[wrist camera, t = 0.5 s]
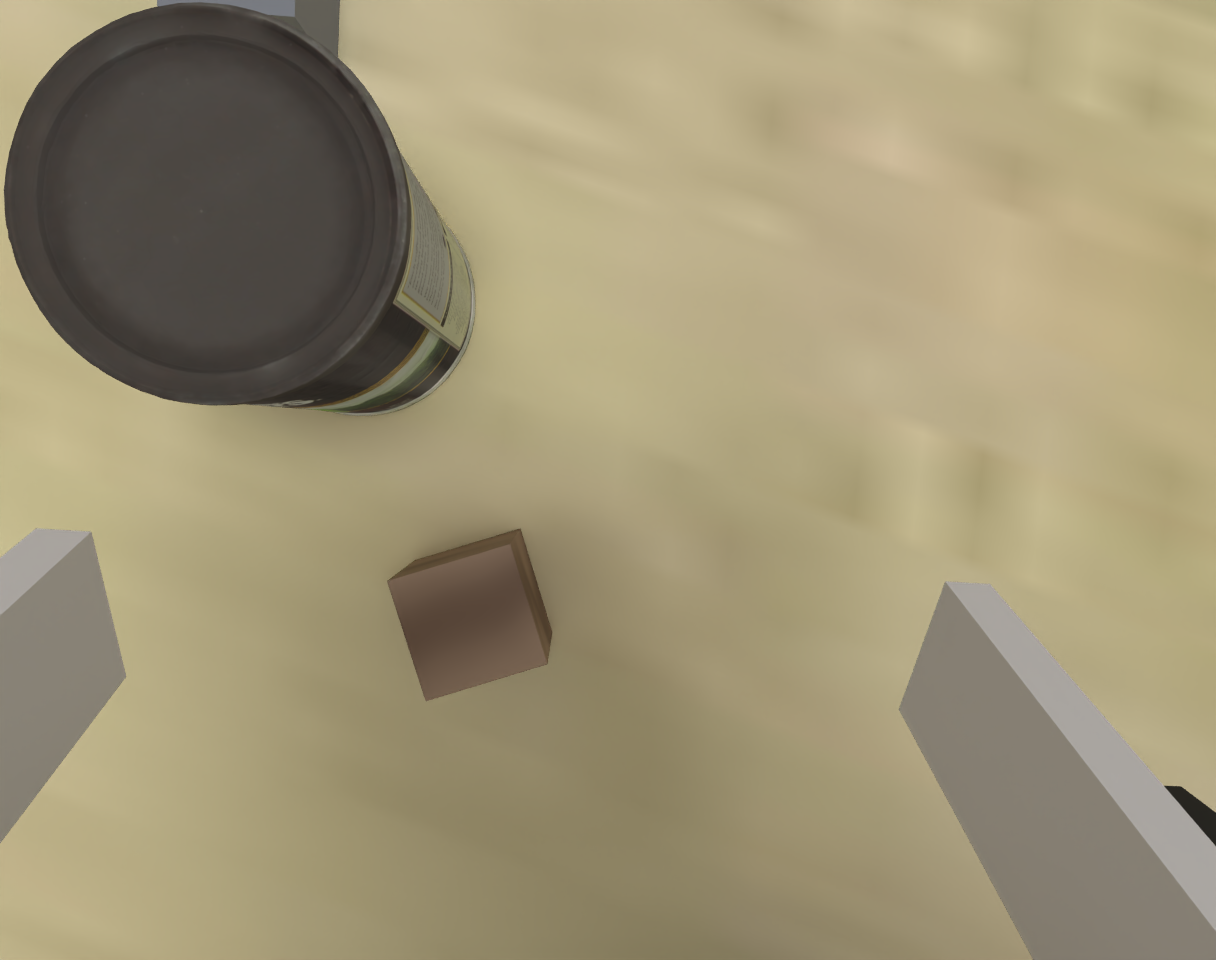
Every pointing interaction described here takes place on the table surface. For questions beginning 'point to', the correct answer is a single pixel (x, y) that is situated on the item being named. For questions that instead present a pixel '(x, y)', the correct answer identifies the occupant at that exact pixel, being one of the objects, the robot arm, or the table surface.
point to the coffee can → (232, 220)
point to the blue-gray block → (293, 15)
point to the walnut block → (472, 614)
